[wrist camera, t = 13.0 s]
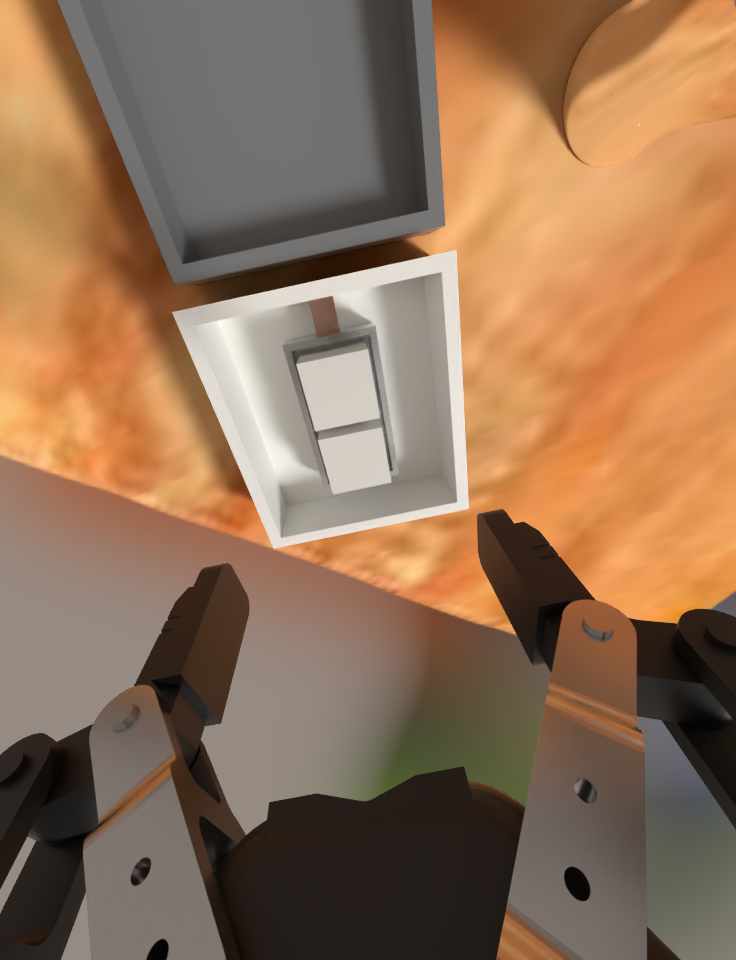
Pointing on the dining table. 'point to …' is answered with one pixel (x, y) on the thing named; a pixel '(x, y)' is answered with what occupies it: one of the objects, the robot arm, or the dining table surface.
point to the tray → (269, 124)
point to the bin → (276, 410)
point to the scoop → (333, 335)
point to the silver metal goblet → (650, 77)
